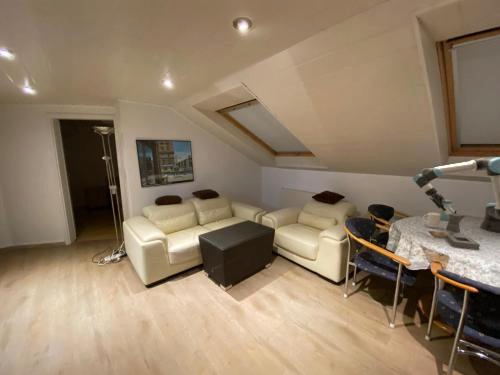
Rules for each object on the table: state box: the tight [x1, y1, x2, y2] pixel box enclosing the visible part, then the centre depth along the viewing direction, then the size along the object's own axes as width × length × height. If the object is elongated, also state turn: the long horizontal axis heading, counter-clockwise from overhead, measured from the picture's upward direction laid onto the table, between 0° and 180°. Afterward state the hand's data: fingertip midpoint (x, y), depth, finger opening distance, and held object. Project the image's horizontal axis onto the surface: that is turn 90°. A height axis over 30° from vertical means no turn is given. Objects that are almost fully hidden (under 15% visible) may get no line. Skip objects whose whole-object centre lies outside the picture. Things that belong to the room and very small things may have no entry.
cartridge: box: [439, 199, 453, 222], centre depth 171 cm, size 6×6×17 cm
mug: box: [422, 212, 441, 229], centre depth 195 cm, size 12×8×12 cm
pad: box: [428, 230, 456, 239], centre depth 175 cm, size 16×12×1 cm
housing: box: [445, 234, 481, 251], centre depth 158 cm, size 14×14×4 cm
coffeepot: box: [445, 210, 466, 234], centre depth 182 cm, size 15×9×18 cm, turn 34°
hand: (451, 213), depth 168 cm, fingers closed on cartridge, 6 cm apart
